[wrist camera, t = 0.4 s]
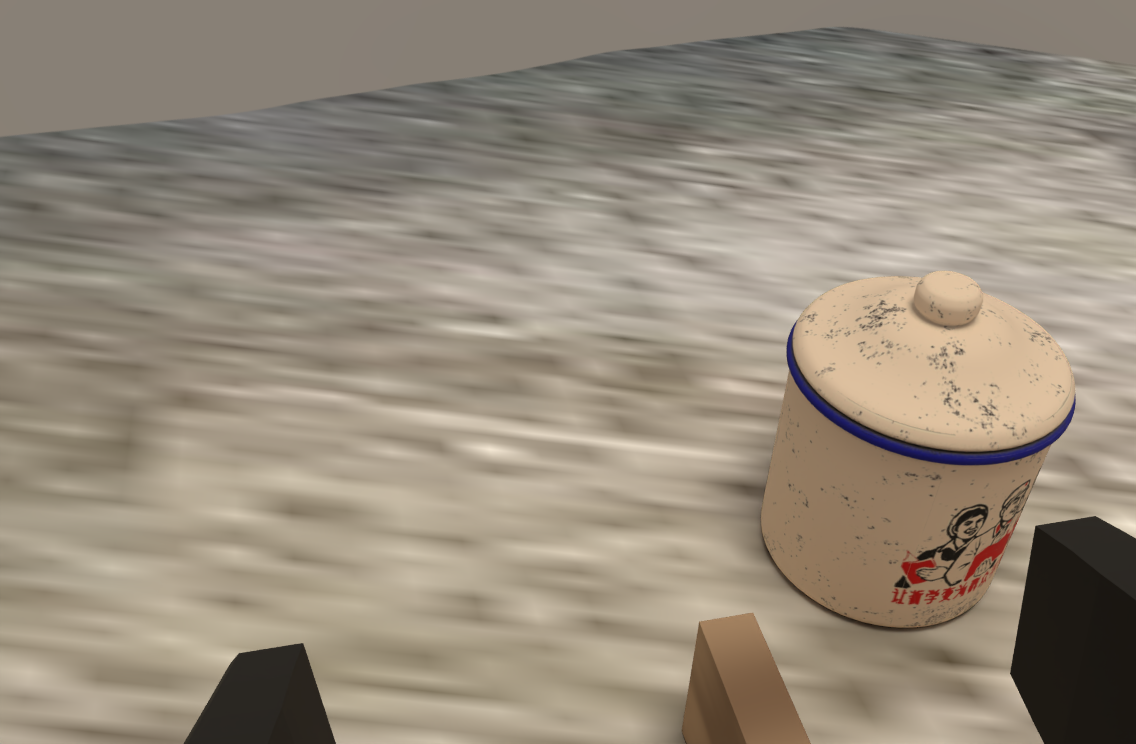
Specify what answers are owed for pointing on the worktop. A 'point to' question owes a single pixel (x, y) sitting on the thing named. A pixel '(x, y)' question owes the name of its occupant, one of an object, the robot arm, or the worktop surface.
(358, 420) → the worktop surface
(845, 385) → the teacup with lid
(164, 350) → the worktop surface
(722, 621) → the brown rectangular block
